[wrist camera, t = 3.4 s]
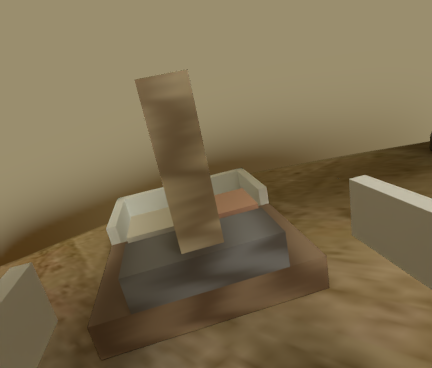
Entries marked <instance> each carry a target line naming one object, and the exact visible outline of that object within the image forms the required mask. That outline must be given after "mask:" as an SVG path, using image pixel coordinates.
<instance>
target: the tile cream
mask: <svg viewBox="0 0 432 368" xmlns="http://www.w3.org/2000/svg"><path fill="white" fill-rule="evenodd" d="M172 231H175V228H174V225H173V221H172V217H171V213H170V210H169V207H167V208H163V209H159V210H155V211H151V212H147V213H143V214H139V215H136V216H132V217H131V220H130V225H129V229H128V234H127V241H128V243H131V242H135V241H139V240H142V239H146V238H150V237H153V236H157V235H161V234H165V233H168V232H172Z"/></svg>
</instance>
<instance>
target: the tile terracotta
mask: <svg viewBox="0 0 432 368" xmlns="http://www.w3.org/2000/svg"><path fill="white" fill-rule="evenodd" d="M214 196H215V201H216V206H217V210H218V215H219V219H220V218H224V217H228V216H231V215H235V214H239V213H243V212H246V211H250V210H254V209H257V208H258V203H257V202H256V201H255V200H254V199H253V198H252V197H251V196H250V195H249V194H248V193H247V192H246V191H245V190H244V189H243V188H240V189H236V190H232V191H229V192H225V193H221V194H217V195H214Z"/></svg>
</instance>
